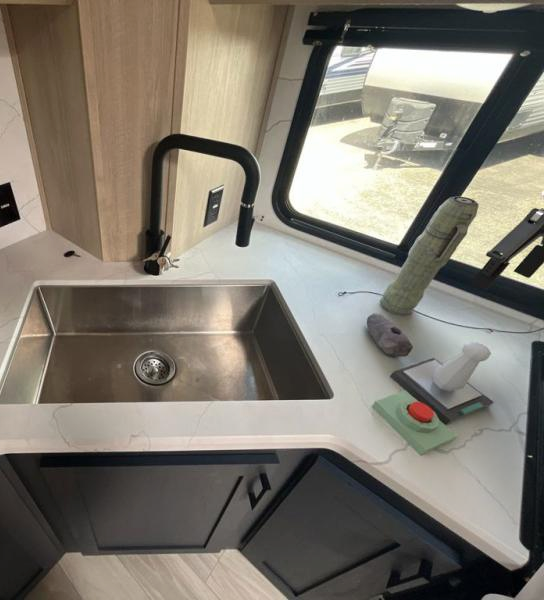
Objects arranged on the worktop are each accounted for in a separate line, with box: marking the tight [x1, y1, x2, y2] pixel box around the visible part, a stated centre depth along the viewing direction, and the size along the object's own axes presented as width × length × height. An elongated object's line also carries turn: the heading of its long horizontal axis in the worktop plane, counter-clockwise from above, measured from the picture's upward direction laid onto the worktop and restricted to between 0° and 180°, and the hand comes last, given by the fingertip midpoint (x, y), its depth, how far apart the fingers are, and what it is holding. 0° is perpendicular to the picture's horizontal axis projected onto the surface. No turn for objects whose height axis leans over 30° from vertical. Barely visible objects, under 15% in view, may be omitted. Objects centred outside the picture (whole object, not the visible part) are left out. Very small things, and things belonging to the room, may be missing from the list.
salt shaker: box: [434, 341, 492, 392], centre depth 72 cm, size 6×6×13 cm
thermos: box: [379, 195, 480, 316], centre depth 91 cm, size 9×12×35 cm
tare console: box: [371, 389, 458, 456], centre depth 70 cm, size 12×9×4 cm
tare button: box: [408, 402, 434, 423], centre depth 69 cm, size 4×4×2 cm
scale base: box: [389, 357, 495, 426], centre depth 77 cm, size 14×14×3 cm
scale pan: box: [402, 359, 483, 410], centre depth 77 cm, size 11×11×1 cm
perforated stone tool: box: [366, 312, 414, 358], centre depth 88 cm, size 15×5×7 cm, turn 179°
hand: (500, 280), depth 68 cm, fingers open, 13 cm apart
